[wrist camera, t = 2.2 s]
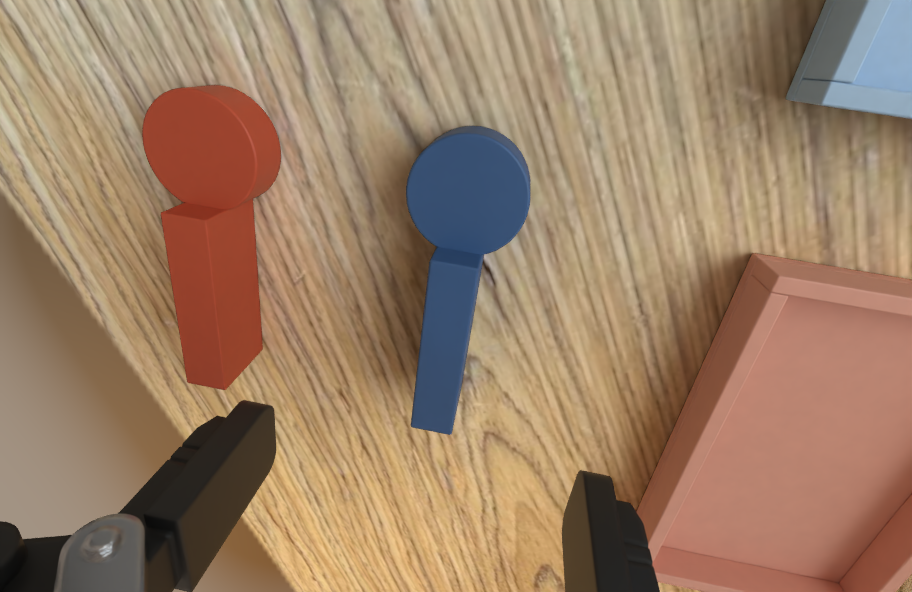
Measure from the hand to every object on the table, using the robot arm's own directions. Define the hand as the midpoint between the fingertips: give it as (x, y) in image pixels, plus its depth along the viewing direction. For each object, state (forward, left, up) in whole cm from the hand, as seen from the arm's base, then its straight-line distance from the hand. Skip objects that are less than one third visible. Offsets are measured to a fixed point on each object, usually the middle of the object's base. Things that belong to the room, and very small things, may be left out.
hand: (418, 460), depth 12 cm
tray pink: (+15, -3, -8) cm, 17 cm away
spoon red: (-9, +2, -8) cm, 12 cm away
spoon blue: (0, +2, -8) cm, 8 cm away
